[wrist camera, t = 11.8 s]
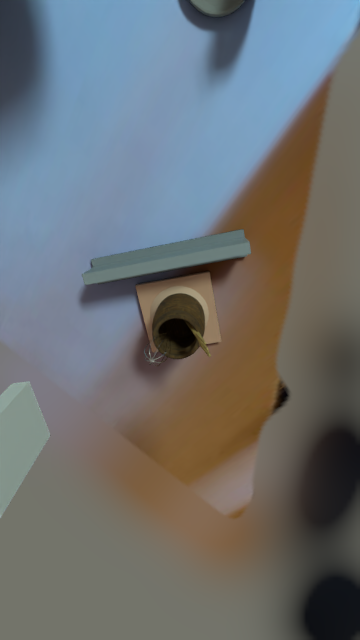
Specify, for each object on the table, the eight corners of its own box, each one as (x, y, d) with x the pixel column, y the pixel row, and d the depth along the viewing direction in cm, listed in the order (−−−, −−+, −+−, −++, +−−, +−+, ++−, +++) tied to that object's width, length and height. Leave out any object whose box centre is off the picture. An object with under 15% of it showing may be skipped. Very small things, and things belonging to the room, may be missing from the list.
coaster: (136, 284, 39) (135, 286, 39) (209, 270, 38) (209, 272, 37) (153, 349, 42) (152, 352, 42) (221, 339, 41) (221, 341, 40)
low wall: (92, 259, 39) (79, 266, 34) (242, 229, 36) (248, 232, 32) (99, 282, 40) (87, 292, 35) (246, 255, 37) (251, 262, 33)
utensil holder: (148, 300, 39) (128, 341, 28) (197, 283, 38) (196, 319, 27) (166, 342, 41) (153, 396, 30) (213, 327, 40) (218, 378, 29)
